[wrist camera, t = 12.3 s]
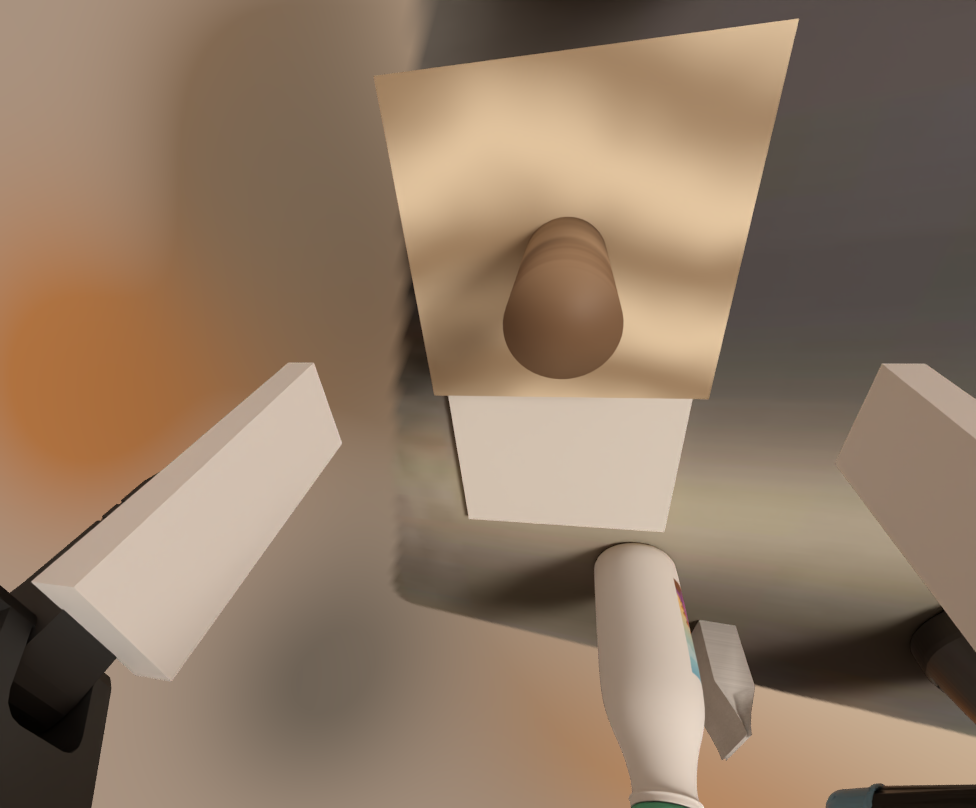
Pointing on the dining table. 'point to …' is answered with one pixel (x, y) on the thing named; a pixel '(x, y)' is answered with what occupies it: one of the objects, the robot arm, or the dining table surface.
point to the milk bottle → (649, 674)
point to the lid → (583, 209)
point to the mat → (570, 459)
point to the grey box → (724, 685)
